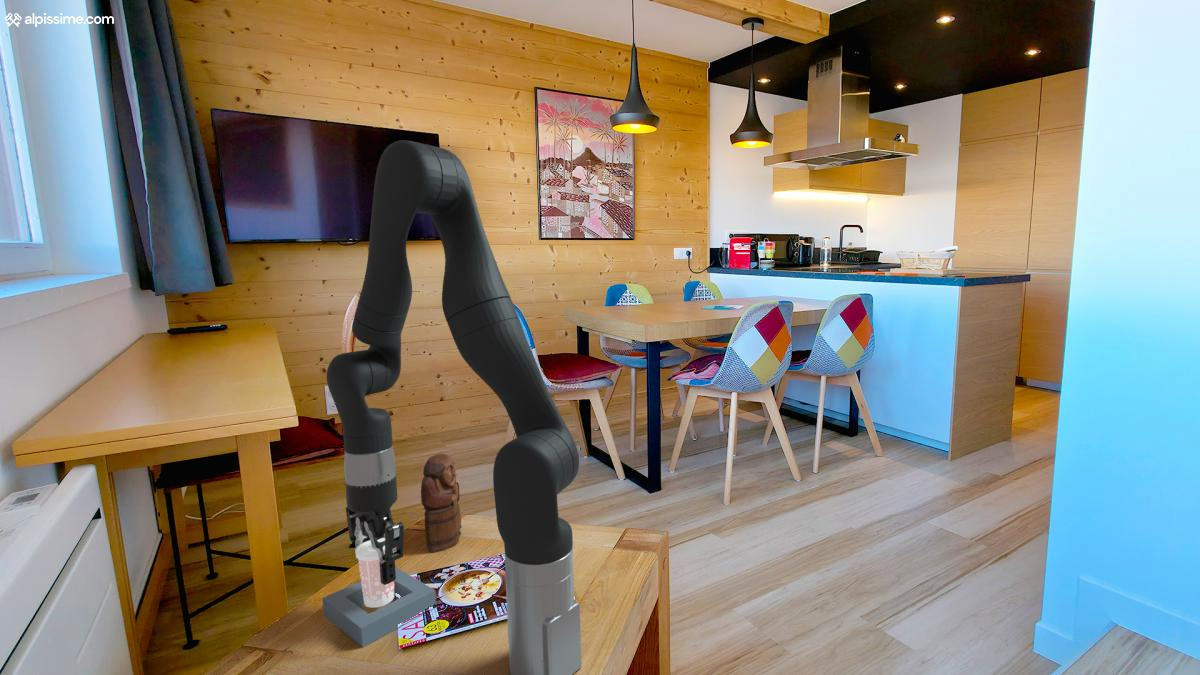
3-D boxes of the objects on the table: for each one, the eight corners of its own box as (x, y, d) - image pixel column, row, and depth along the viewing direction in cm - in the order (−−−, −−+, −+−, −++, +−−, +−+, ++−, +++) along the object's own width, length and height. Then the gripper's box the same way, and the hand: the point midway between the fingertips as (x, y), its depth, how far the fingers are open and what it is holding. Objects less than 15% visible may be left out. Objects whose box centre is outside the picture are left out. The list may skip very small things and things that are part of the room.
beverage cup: (405, 590, 95) (401, 509, 93) (386, 611, 89) (381, 526, 87) (372, 587, 96) (366, 508, 94) (350, 608, 90) (344, 524, 88)
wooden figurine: (455, 552, 111) (450, 464, 109) (422, 554, 111) (416, 465, 109) (465, 525, 123) (461, 445, 121) (435, 527, 123) (431, 446, 121)
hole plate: (436, 607, 93) (435, 590, 93) (362, 647, 84) (361, 628, 83) (395, 581, 101) (394, 565, 101) (323, 615, 92) (322, 598, 91)
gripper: (417, 478, 88) (423, 580, 90) (370, 459, 97) (376, 552, 99) (371, 493, 82) (379, 602, 84) (325, 472, 91) (333, 570, 93)
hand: (377, 575), depth 92 cm, fingers closed on beverage cup, 6 cm apart
